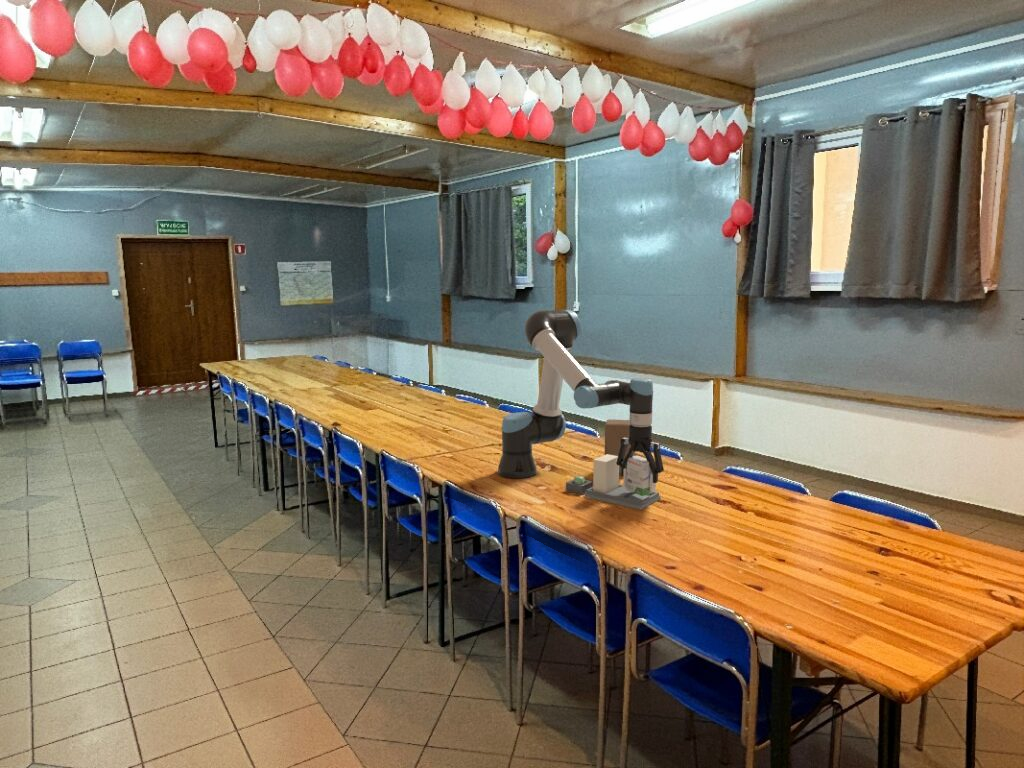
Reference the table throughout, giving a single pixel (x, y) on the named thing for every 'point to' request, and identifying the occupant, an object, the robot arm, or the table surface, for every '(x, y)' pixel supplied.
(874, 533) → the table surface
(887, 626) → the table surface
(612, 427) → the block
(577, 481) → the button
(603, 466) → the billet
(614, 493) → the pallet
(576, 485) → the dark grey square tray
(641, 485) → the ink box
